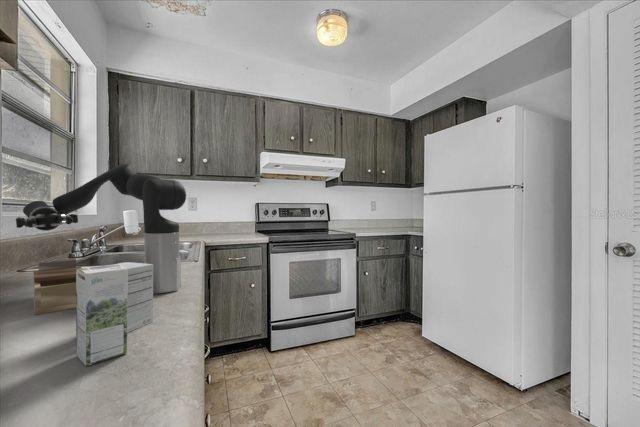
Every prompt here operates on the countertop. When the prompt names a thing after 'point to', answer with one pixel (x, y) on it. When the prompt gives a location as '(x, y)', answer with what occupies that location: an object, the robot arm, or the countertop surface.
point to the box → (54, 295)
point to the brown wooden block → (55, 270)
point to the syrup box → (101, 313)
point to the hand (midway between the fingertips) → (50, 222)
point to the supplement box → (139, 294)
